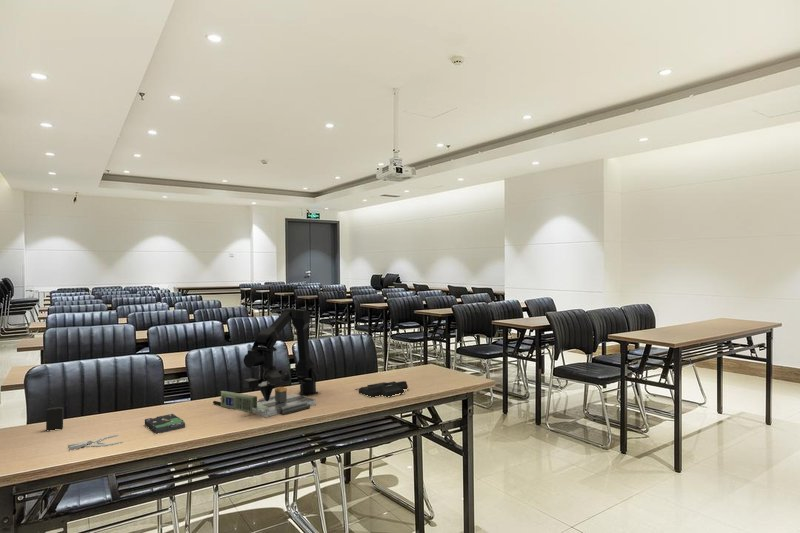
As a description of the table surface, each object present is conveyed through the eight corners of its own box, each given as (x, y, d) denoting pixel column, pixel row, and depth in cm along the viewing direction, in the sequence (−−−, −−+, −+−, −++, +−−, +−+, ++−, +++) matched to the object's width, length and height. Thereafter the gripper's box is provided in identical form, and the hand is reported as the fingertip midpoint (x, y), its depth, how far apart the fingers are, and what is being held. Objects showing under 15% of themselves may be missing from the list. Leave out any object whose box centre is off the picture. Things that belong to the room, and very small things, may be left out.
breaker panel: (294, 398, 219) (294, 393, 219) (315, 404, 208) (315, 399, 208) (245, 409, 202) (245, 404, 202) (265, 417, 191) (265, 411, 191)
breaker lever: (281, 399, 208) (281, 386, 208) (286, 401, 205) (286, 388, 205) (274, 401, 205) (274, 388, 205) (280, 402, 202) (280, 389, 202)
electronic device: (378, 382, 251) (378, 372, 251) (414, 393, 226) (413, 382, 226) (343, 388, 238) (342, 378, 238) (376, 401, 214) (376, 390, 214)
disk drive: (143, 426, 184) (156, 435, 173) (143, 419, 184) (156, 427, 173) (172, 420, 191) (186, 428, 180) (172, 413, 191) (186, 421, 180)
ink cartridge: (63, 427, 182) (63, 406, 182) (62, 429, 180) (62, 407, 180) (47, 429, 179) (47, 408, 180) (46, 431, 177) (46, 409, 178)
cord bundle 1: (304, 406, 205) (304, 400, 205) (310, 408, 202) (310, 401, 202) (277, 413, 196) (277, 406, 196) (283, 415, 193) (283, 408, 193)
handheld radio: (252, 414, 197) (210, 406, 209) (258, 412, 200) (216, 404, 212) (252, 397, 197) (210, 390, 210) (258, 395, 200) (217, 389, 213)
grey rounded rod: (281, 399, 218) (281, 392, 218) (286, 400, 215) (286, 394, 215) (255, 405, 208) (255, 398, 208) (260, 406, 206) (259, 400, 206)
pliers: (123, 439, 165) (69, 450, 155) (123, 443, 165) (69, 455, 155) (117, 431, 172) (66, 441, 163) (117, 436, 172) (66, 446, 163)
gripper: (255, 369, 188) (256, 409, 188) (296, 362, 201) (297, 399, 201) (241, 365, 196) (242, 404, 196) (281, 359, 209) (282, 395, 209)
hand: (266, 401), depth 200 cm, fingers closed
